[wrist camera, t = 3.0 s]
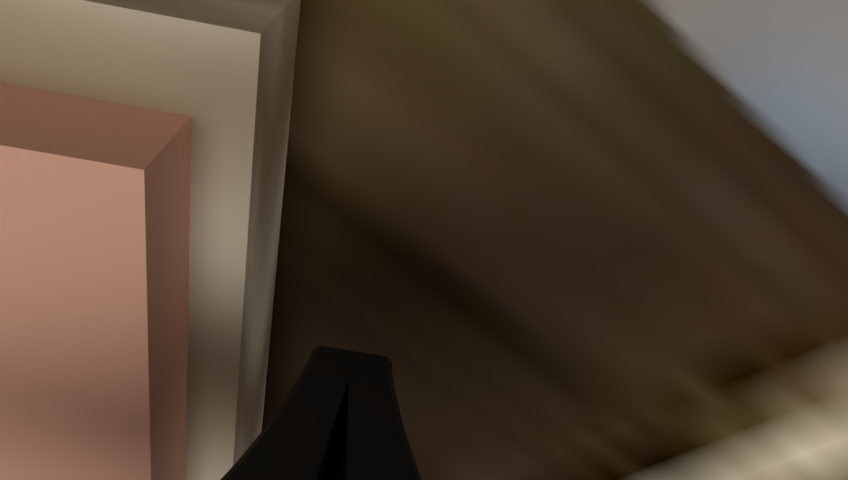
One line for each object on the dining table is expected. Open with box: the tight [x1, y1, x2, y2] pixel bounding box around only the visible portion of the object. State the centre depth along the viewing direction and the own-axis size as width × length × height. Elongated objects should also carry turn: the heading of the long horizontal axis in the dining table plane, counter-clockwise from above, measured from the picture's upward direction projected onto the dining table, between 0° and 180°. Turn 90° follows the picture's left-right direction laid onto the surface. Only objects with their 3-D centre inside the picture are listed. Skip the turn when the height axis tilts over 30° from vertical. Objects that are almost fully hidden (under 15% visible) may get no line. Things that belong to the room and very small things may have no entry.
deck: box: [0, 0, 301, 480], centre depth 15 cm, size 16×11×4 cm
